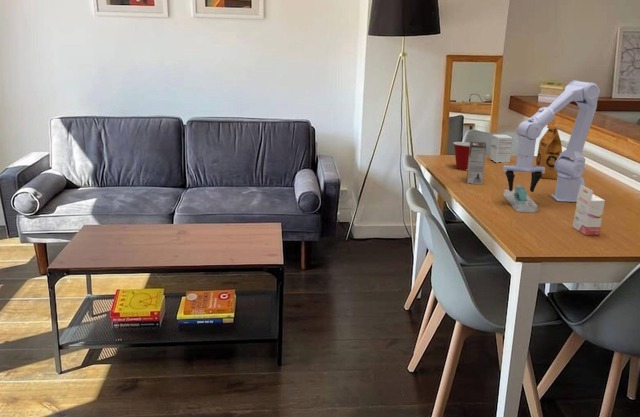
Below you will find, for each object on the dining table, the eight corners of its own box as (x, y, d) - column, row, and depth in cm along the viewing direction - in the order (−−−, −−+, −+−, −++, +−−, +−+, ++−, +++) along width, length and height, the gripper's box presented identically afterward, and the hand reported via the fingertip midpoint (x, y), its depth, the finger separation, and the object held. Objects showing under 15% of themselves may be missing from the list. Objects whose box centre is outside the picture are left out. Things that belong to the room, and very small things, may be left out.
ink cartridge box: (600, 235, 186) (607, 191, 182) (585, 235, 186) (592, 191, 181) (586, 226, 195) (593, 183, 190) (571, 226, 194) (578, 183, 190)
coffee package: (537, 178, 252) (544, 128, 245) (533, 171, 264) (539, 123, 257) (562, 180, 251) (569, 129, 244) (556, 173, 262) (563, 124, 255)
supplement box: (489, 160, 285) (491, 134, 281) (503, 159, 286) (506, 134, 282) (495, 163, 278) (498, 137, 274) (510, 163, 279) (513, 137, 275)
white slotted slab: (521, 196, 227) (522, 190, 226) (536, 212, 208) (537, 205, 207) (503, 195, 227) (504, 189, 227) (516, 211, 208) (517, 205, 208)
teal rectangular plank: (519, 200, 222) (521, 185, 220) (525, 206, 214) (527, 191, 212) (513, 200, 222) (515, 185, 220) (519, 206, 214) (521, 191, 212)
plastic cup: (478, 168, 269) (481, 142, 266) (470, 172, 261) (473, 146, 257) (455, 164, 275) (458, 139, 271) (447, 169, 266) (449, 143, 262)
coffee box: (466, 178, 252) (469, 141, 247) (481, 179, 250) (485, 142, 245) (466, 183, 243) (470, 145, 238) (482, 184, 242) (486, 146, 237)
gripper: (507, 156, 208) (503, 193, 213) (549, 157, 208) (544, 194, 212) (503, 152, 215) (499, 188, 219) (543, 153, 214) (538, 189, 219)
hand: (521, 191), depth 216 cm, fingers open, 7 cm apart
